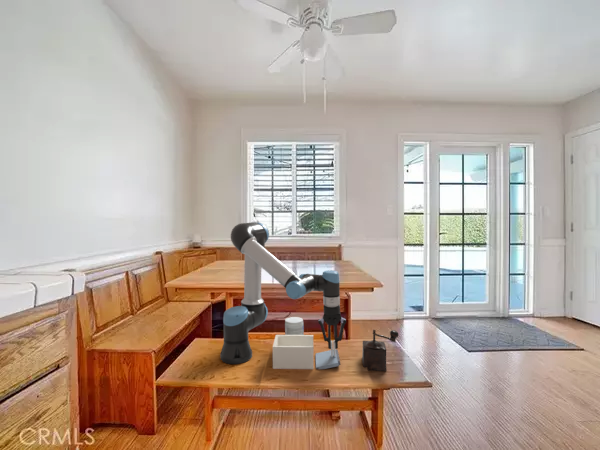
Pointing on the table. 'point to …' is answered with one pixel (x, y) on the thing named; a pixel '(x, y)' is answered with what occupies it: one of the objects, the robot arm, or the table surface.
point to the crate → (293, 352)
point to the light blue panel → (327, 360)
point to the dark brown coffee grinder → (376, 352)
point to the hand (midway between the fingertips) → (333, 355)
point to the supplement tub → (294, 326)
